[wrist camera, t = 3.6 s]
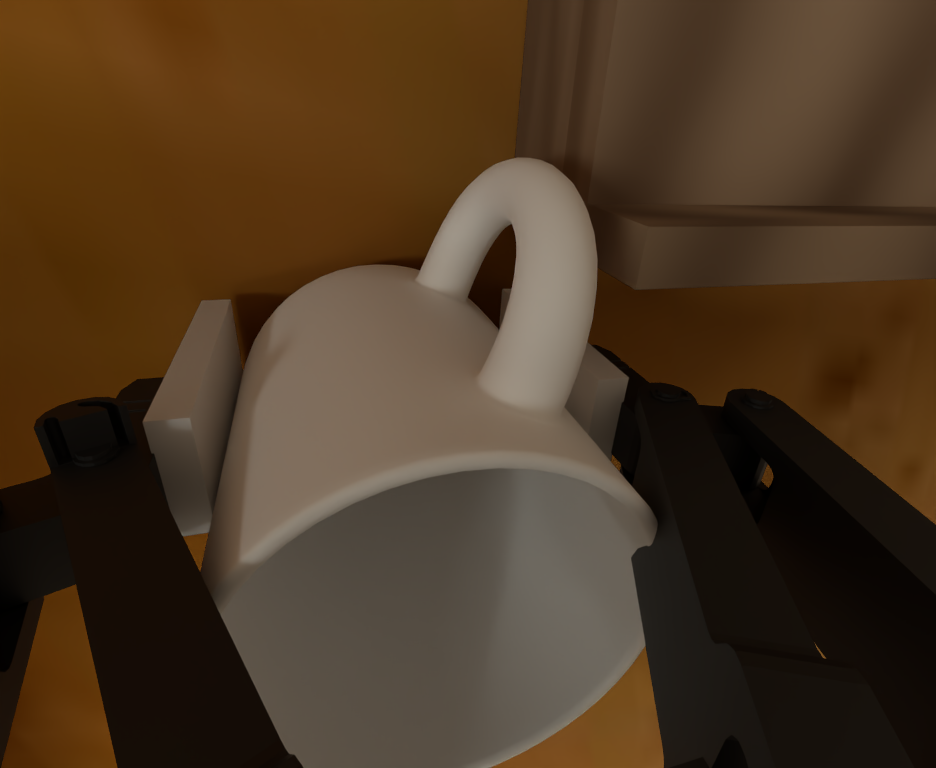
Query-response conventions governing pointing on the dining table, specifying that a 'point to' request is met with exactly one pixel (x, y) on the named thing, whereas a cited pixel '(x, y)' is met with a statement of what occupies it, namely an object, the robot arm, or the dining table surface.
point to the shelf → (740, 135)
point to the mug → (430, 501)
